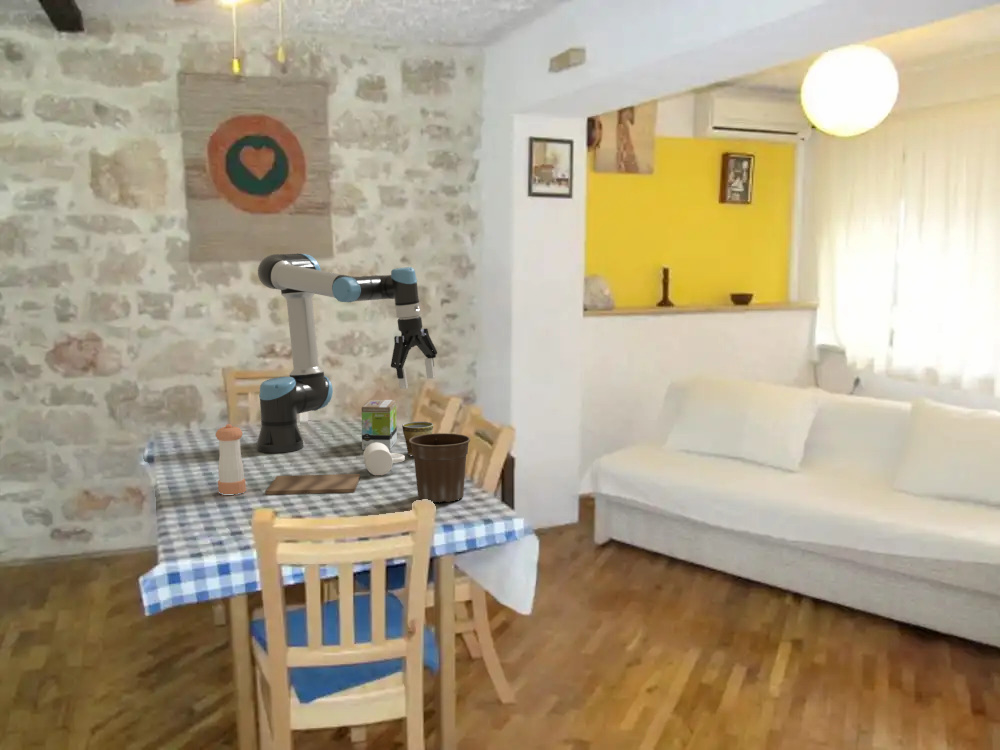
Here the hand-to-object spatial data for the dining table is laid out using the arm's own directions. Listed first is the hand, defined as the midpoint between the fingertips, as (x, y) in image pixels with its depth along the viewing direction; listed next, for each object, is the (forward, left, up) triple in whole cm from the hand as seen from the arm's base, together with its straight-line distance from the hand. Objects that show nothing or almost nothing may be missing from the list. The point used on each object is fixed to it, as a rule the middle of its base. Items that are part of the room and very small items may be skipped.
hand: (417, 383), depth 281 cm
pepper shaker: (+15, -61, -24) cm, 67 cm away
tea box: (-21, -6, -24) cm, 32 cm away
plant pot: (+47, -12, -24) cm, 54 cm away
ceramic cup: (-3, +1, -24) cm, 24 cm away
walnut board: (+19, -39, -24) cm, 50 cm away
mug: (+13, -16, -24) cm, 32 cm away
